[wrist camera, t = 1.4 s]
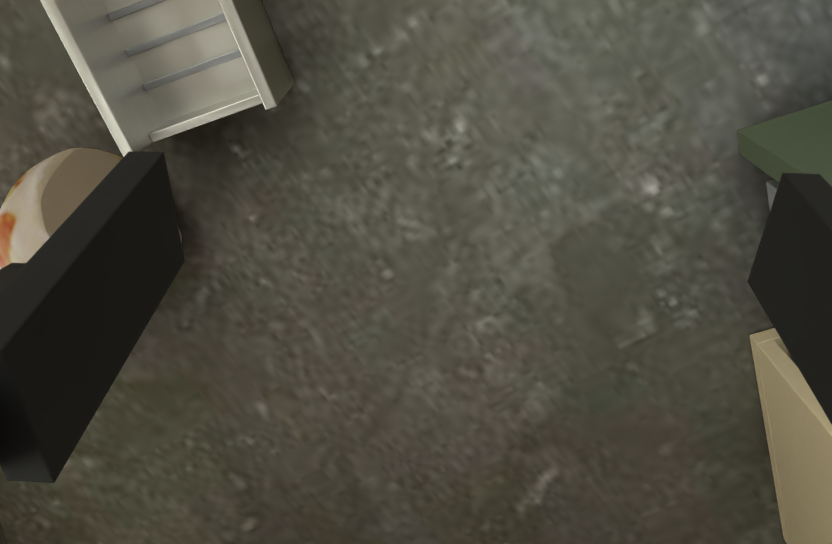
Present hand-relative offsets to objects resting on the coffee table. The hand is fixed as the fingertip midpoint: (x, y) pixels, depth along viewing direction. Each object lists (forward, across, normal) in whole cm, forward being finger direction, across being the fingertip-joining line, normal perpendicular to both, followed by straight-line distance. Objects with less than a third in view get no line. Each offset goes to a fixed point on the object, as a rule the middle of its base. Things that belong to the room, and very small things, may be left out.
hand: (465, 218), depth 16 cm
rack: (+17, +11, +1) cm, 20 cm away
